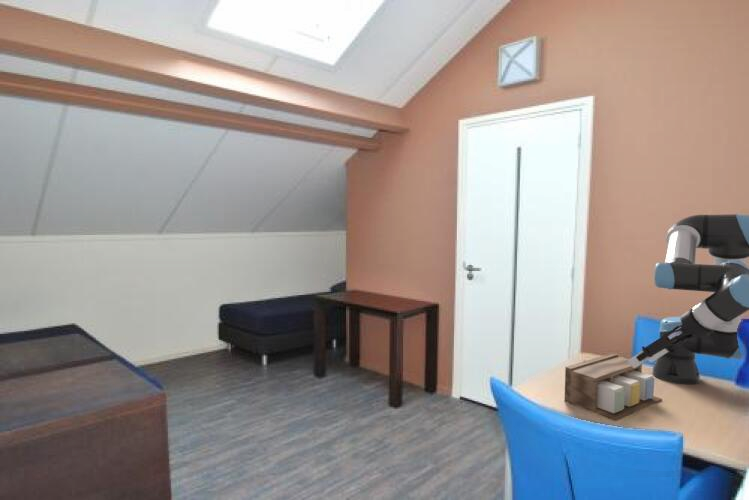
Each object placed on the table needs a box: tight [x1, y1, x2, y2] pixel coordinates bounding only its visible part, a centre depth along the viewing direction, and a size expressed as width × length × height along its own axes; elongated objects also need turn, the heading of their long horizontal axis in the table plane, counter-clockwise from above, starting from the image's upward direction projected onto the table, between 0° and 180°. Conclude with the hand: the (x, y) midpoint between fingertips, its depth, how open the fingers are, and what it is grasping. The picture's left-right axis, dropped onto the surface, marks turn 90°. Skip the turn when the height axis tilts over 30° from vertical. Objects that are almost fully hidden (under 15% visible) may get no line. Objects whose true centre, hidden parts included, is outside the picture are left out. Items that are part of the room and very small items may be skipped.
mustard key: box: [613, 375, 640, 407], centre depth 150 cm, size 8×5×8 cm, turn 32°
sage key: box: [597, 380, 625, 413], centre depth 145 cm, size 8×5×8 cm, turn 32°
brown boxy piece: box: [564, 352, 663, 422], centre depth 153 cm, size 18×28×12 cm, turn 122°
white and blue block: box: [628, 370, 655, 400], centre depth 155 cm, size 8×5×8 cm, turn 32°
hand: (639, 361), depth 136 cm, fingers open, 9 cm apart
